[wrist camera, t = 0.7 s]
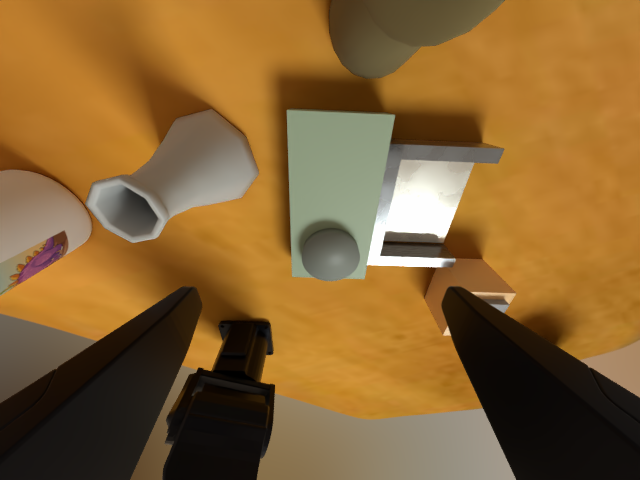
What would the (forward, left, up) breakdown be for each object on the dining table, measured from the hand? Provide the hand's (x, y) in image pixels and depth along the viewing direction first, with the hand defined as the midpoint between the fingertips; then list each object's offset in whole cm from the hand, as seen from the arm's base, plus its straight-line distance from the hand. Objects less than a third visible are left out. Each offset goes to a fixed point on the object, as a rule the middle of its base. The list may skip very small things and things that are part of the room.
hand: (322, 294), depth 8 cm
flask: (+1, +9, -14) cm, 16 cm away
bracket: (-2, -9, -13) cm, 16 cm away
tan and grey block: (-11, -15, -14) cm, 23 cm away
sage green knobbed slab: (-2, -1, -13) cm, 13 cm away
